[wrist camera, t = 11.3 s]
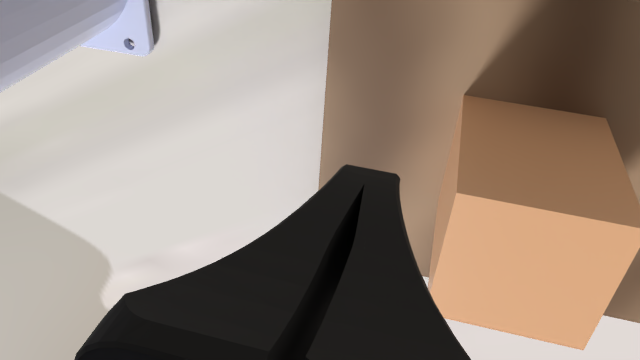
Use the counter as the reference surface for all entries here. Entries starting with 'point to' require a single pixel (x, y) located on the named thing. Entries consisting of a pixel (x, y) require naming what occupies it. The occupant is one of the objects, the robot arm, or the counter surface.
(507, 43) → the post board
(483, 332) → the counter surface
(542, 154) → the tan rectangular block
